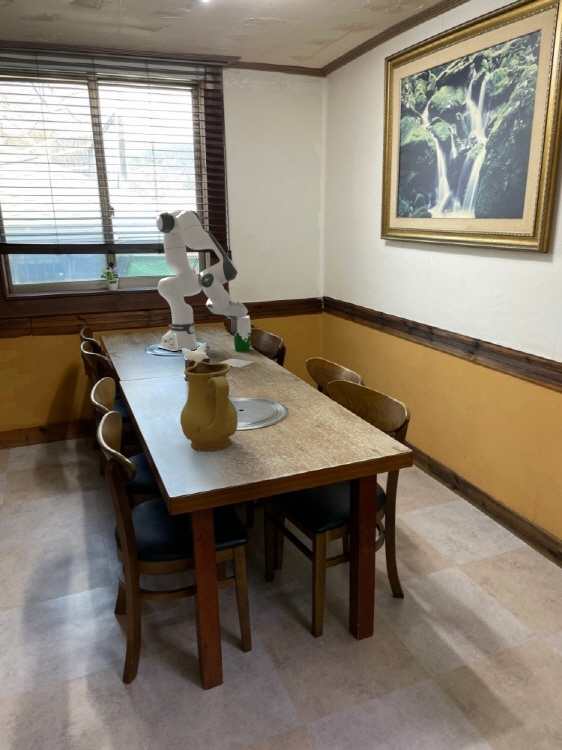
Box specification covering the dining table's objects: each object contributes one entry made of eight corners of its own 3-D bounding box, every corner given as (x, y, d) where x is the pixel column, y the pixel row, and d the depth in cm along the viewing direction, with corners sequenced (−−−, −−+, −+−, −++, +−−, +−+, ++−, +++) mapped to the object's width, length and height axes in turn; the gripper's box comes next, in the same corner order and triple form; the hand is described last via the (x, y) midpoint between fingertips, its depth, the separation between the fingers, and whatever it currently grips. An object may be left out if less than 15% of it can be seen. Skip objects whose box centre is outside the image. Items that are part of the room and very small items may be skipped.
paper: (216, 364, 254) (216, 363, 254) (230, 359, 264) (230, 358, 264) (240, 368, 247) (240, 367, 247) (254, 362, 257) (254, 361, 257)
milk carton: (235, 348, 287) (233, 311, 281) (251, 348, 287) (250, 311, 281) (233, 352, 278) (232, 314, 273) (250, 351, 278) (249, 314, 273)
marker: (230, 333, 263) (229, 305, 260) (233, 332, 266) (233, 304, 262) (235, 334, 262) (234, 305, 258) (239, 333, 264) (238, 305, 261)
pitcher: (240, 430, 171) (235, 356, 163) (238, 457, 153) (231, 375, 145) (187, 433, 171) (179, 358, 163) (178, 460, 153) (169, 378, 145)
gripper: (242, 297, 248) (254, 315, 259) (208, 294, 258) (221, 311, 269) (237, 308, 245) (249, 325, 256) (202, 304, 255) (216, 321, 266)
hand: (234, 318), depth 262 cm, fingers closed on marker, 3 cm apart
